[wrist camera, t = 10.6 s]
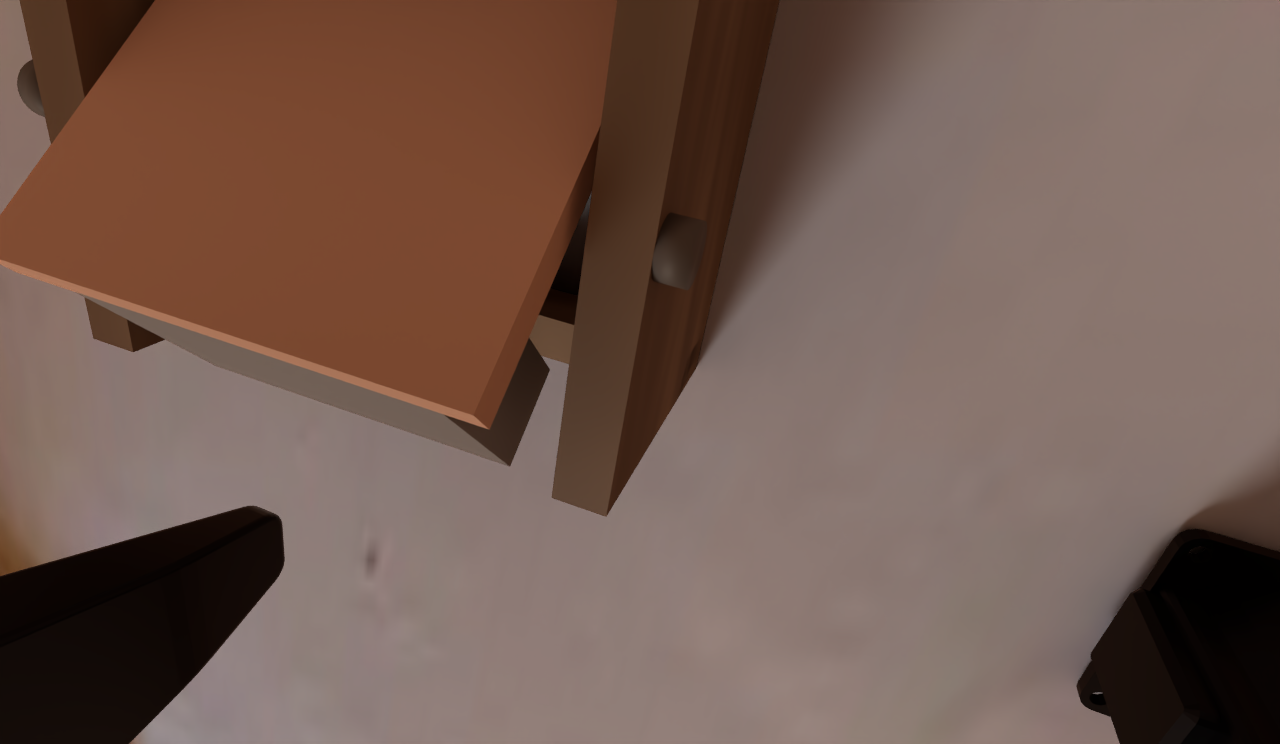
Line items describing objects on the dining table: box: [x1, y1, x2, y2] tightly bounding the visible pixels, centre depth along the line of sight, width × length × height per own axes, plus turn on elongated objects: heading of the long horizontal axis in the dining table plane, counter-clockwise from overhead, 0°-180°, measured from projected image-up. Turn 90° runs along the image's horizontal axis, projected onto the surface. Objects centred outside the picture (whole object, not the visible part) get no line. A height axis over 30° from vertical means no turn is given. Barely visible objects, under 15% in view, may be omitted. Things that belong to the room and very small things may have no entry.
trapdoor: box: [0, 0, 617, 466], centre depth 15 cm, size 10×11×5 cm
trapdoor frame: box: [17, 0, 780, 516], centre depth 15 cm, size 14×15×8 cm
